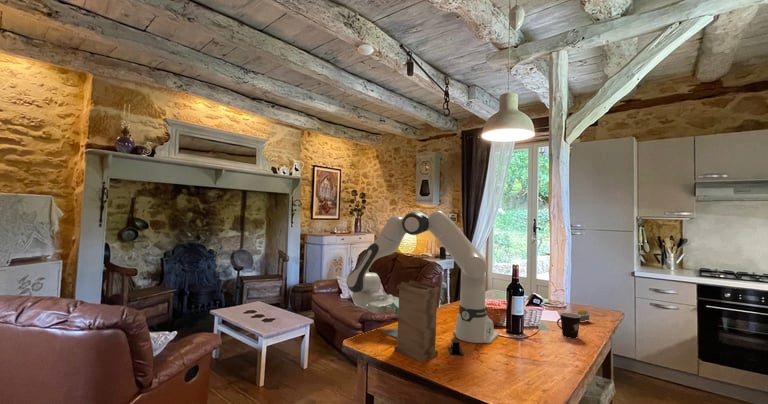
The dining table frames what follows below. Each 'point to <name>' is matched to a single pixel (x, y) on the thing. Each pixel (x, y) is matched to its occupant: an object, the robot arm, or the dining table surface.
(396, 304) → the teal square bar
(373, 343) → the dining table surface
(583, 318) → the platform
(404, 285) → the walnut stand
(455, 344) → the black block on plate
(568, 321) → the coffee mug
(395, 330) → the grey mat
